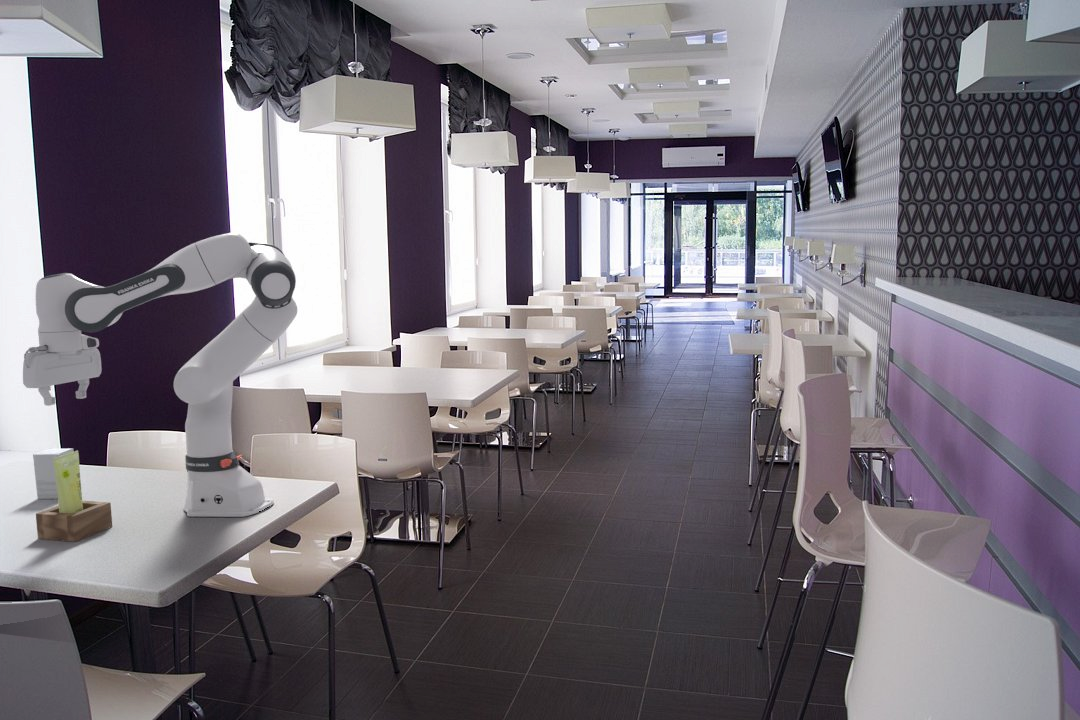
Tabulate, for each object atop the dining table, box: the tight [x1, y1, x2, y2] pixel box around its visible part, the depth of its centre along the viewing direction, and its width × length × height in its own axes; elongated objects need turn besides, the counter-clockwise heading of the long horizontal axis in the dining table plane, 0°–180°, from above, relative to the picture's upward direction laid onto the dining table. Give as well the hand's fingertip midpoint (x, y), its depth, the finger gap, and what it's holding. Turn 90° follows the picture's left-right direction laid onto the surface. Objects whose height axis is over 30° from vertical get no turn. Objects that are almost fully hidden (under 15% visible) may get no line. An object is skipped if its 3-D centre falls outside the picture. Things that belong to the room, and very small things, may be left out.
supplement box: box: [32, 447, 74, 500], centre depth 239 cm, size 7×7×13 cm
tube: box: [54, 449, 83, 514], centre depth 203 cm, size 6×5×20 cm
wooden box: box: [35, 500, 113, 543], centre depth 206 cm, size 11×12×6 cm
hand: (66, 401), depth 204 cm, fingers open, 8 cm apart
